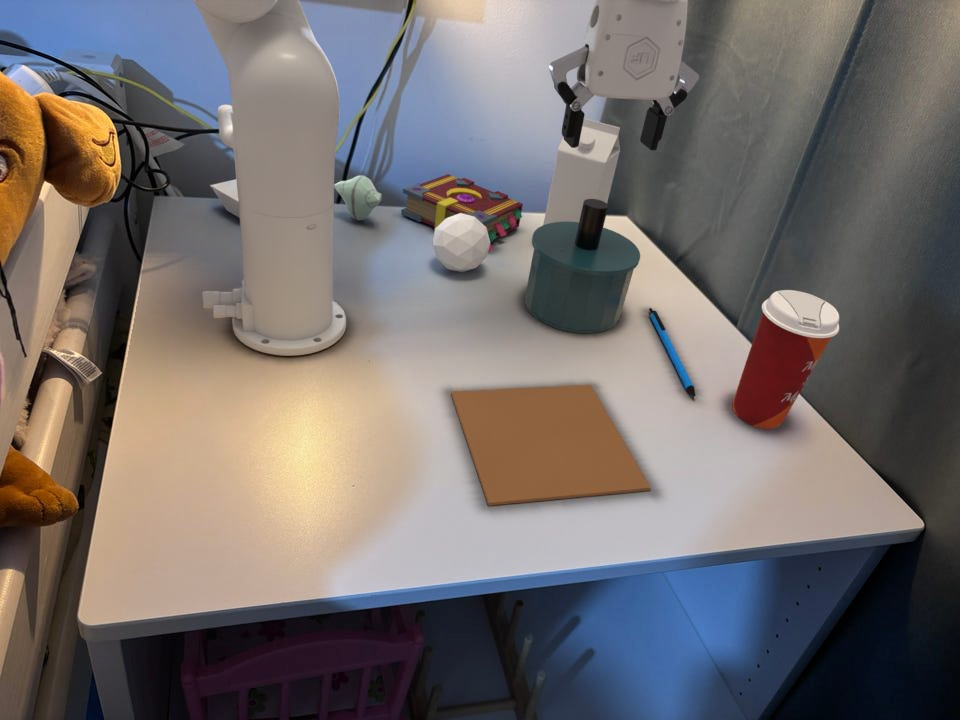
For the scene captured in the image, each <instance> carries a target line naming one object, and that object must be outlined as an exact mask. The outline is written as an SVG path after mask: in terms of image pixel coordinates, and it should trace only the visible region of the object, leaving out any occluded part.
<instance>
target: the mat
mask: <svg viewBox="0 0 960 720" xmlns="http://www.w3.org/2000/svg"><path fill="white" fill-rule="evenodd" d="M450 397H451V398H452V402H453V405H454V408H455V410H456V413H457V417H458V419H459V423H460V425H461V429H462V431H463V432H462V433H463V434H464V438H465V440H466V444H467V446H468V449H469V452H470V455H471V459H472V461H473V464H474V468H475V470H476V474H477V476H478V479H479V482H480V486H481V488H482V491H483V494H484V497H485V499H486V503H487V506H489V507H490V506H491V507H492V506H499V505H500V506H502V505H512V504H522V503H532V502H533V503H534V502H542V501H554V500H563V499H564V500H565V499H575V498H587V497H597V496H607V495H608V496H609V495H616V494H628V493H629V494H630V493H638V492H650V491H651V489H652V486H651V485H650V483H649V481H648V480H647V478H646V476H645V474H644V473H643V471H642V469H641V468H640V466H639V465H638V462H637V461H636V459H635V458H634V456H633V454H632V452H631V450H630V449H629V447H628V446H627V444H626V442H625V441H624V439H623V437H622V435H621V433H620V432H619V430H618V429H617V427H616V425H615V424H614V422H613V420H612V419H611V417H610V415H609V413H608V411H607V410H606V408H605V407H604V404H603V403H602V402H601V399H600V398H599V397H598V395H597V393H596V391H595V390H594V388H593V386H592V385H591V384H582V385H581V384H577V385H576V384H575V385H557V386H555V385H554V386H537V387H517V388H498V389H497V388H495V389H476V390H457V391H451V392H450Z"/></svg>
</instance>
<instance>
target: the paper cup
mask: <svg viewBox="0 0 960 720" xmlns="http://www.w3.org/2000/svg"><path fill="white" fill-rule="evenodd" d="M761 311H762V313H761V317H760V320H759V323H758V325H757V329H756V331H755V334H754V337H753V340H752V343H751V346H750V349H749V352H748V355H747V358H746V361H745V364H744V366H743V370H742V373H741V376H740V379H739V382H738V385H737V388H736V391H735V394H734V397H733V401H732V410H733V412H734V414H735V415H736V416H737V417H738V418H739V419H740V420H741V421H743V422H744V423H746V424H748V425H750V426H752V427H755V428H760V429H765V430H773V429H776V428H779V427H780V426H781V425H782V423H783V422H784V421H785V419H786V417H787V416H788V414H789V412H790V411H791V409H792V407H793V406H794V404H795V402H796V400H797V398H798V397H799V395H800V394H801V391H802V390H803V388H804V386H805V385H806V383H807V382H808V380H809V378H810V377H811V374H812V372H813V370H814V369H815V367H816V366H817V364H818V362H819V361H820V358H821V356H822V354H824V351H825V350H826V347H827V346H828V344H829V343H830V341H831V339H832V337H835V336H836V335H837V334H838V333H839V332H840V324H839V321H840V313H839V312H838V310H837V309H836V308H835V307H834V306H833V305H832V304H831V303H829V302H827V301H826V300H824V299H822V298H820V297H818V296H815V295H814V294H811V293H808V292H803V291H800V290H795V289H794V290H793V289H783V290H776V291H774V292H773V293H771V294H770V296H769V298H767V299H766V300H764V301H763V302H762V304H761Z"/></svg>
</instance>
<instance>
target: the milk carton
mask: <svg viewBox="0 0 960 720" xmlns="http://www.w3.org/2000/svg"><path fill="white" fill-rule="evenodd" d="M620 131H621V127H619V126H615V125H612V124H607V123H605V122H604V123H603V122H600V121H597V120H593V119H588V118H586V117H584V121H583V126H582V131H581V136H580V141H579V146H578V147H577V148H571V147H570V146H569V145H568V143H567V142H566V141H565V140H564V137H563V136H562V139H561V141H560V143H559V146H558V148H557V152H556V157H555V161H554V167H553V171H552V178H551V183H550V188H549V193H548V198H547V202H546V208H545V213H544V218H543V224H542V226H543V225H545V224H549V223H554V222H579V220H580V216H581V212H582V207H583V203H584V200H586V199H598V200H601V201H604V202H605V203H607V204H608V202H609V197H610V194H611V189H612V186H613V181H614V177H615V173H616V169H617V164H618V161H619V157H620V153H621V145H620V138H619V134H620Z"/></svg>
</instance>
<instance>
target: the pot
mask: <svg viewBox="0 0 960 720" xmlns="http://www.w3.org/2000/svg"><path fill="white" fill-rule="evenodd" d="M530 263H531V264H530V269H529V274H528V280H527V284H526V289H525V290H526V291H525V294H524V295H525V296H524V305H525V308H526V309H527V310H528V312H529V313H530V314H531V315H532V316H533V317H534V318H535V319H537V320H538V321H540V322H541V323H543V324H545V325H547V326H549V327H551V328H555V329H557V330H561V331H564V332H568V333H573V334H574V333H575V334H598V333H602V332H606V331H608V330H610V329H612V328H613V327H615V326H616V325H617V324H618V322H619V320H620V318H621V316H622V312H623V309H624V305H625V301H626V298H627V293H628V291H629V287H630V284H631V280H632V277H633V273H634V270H635V268H634V269H633V270H631V271H629V272H627V273H624V274H619V275H610V276H600V275H590V274H583V273H579V272H575V271H571V270H568V269H565V268H562V267H560V266H557V265H555V264H553V263H551V262H549V261H548V260H546V259H544V258H543V257H542V256H540V255H539V254H538V253H537V252H536V250H535V249H534V248H533V253H532V258H531V262H530Z"/></svg>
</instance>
